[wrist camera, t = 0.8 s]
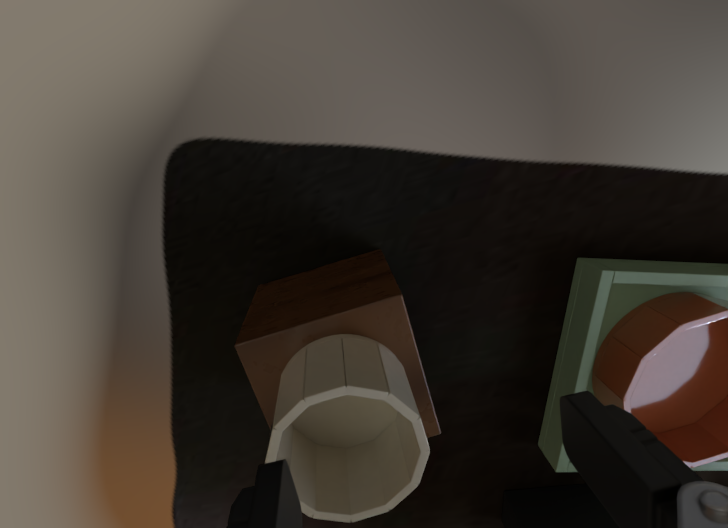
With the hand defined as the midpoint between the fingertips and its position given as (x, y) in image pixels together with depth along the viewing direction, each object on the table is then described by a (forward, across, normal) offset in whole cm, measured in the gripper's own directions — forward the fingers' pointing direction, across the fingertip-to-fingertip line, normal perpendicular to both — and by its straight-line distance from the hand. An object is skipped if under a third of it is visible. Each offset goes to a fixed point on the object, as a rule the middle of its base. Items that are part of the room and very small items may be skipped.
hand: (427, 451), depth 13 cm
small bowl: (+8, +3, +3) cm, 9 cm away
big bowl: (+15, -19, +11) cm, 27 cm away
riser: (+16, +3, +3) cm, 17 cm away
